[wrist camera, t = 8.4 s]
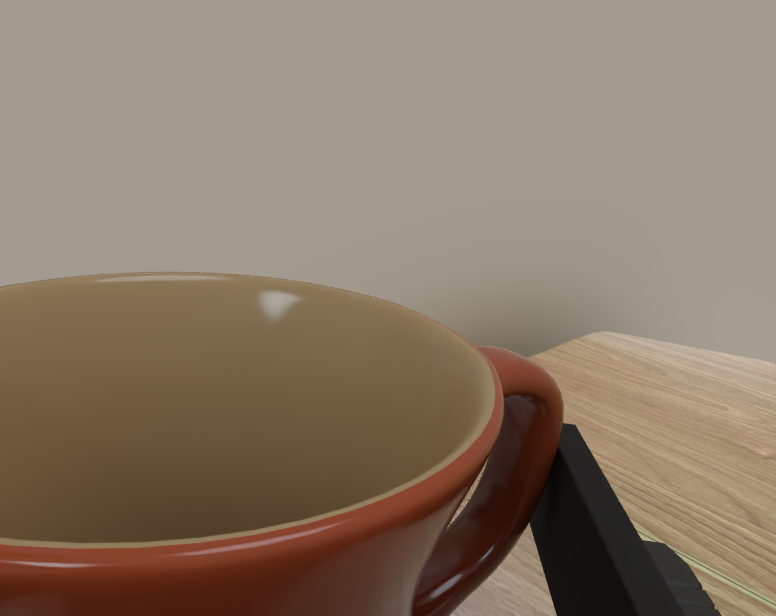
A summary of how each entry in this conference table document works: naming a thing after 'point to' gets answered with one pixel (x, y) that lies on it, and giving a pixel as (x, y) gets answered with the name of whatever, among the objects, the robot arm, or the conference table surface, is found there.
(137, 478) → the mug
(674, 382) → the conference table surface
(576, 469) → the robot arm
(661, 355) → the conference table surface
